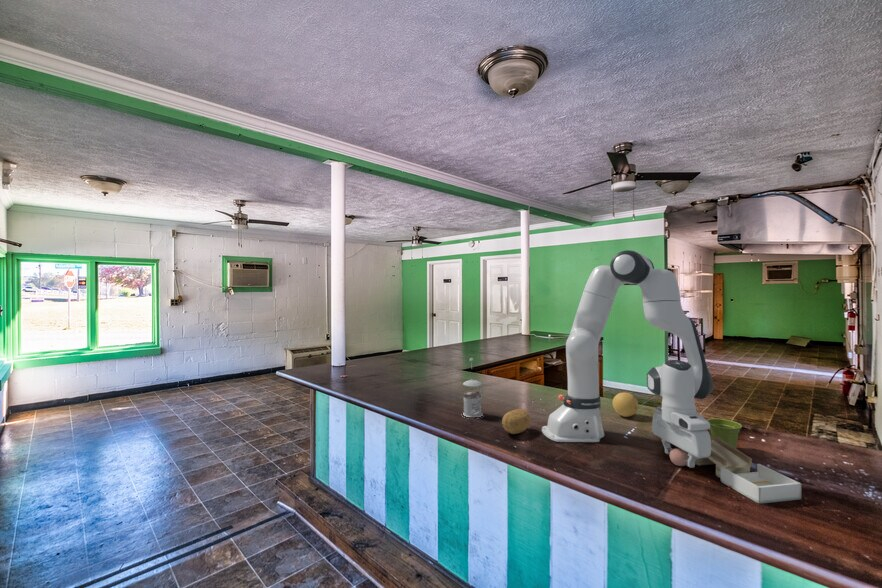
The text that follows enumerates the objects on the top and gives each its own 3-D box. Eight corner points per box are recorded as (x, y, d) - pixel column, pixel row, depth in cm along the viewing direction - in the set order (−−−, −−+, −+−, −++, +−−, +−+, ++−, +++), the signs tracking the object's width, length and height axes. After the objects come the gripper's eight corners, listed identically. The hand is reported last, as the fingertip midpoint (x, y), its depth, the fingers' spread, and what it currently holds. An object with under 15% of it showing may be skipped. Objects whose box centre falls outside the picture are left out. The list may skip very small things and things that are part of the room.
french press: (456, 415, 168) (455, 358, 168) (472, 409, 177) (471, 354, 177) (475, 420, 162) (474, 360, 162) (490, 413, 171) (489, 356, 170)
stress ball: (614, 420, 161) (631, 409, 154) (603, 398, 167) (620, 387, 160) (630, 420, 165) (648, 410, 158) (620, 399, 171) (636, 388, 164)
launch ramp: (724, 480, 108) (724, 454, 108) (690, 460, 120) (689, 437, 120) (752, 477, 109) (752, 451, 109) (716, 458, 121) (715, 435, 121)
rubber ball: (677, 469, 115) (677, 453, 115) (665, 462, 120) (665, 446, 120) (692, 468, 115) (692, 451, 115) (680, 461, 120) (680, 445, 120)
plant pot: (749, 454, 124) (749, 427, 124) (722, 455, 123) (721, 428, 123) (726, 442, 133) (725, 417, 133) (700, 444, 133) (700, 419, 133)
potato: (494, 435, 145) (494, 414, 145) (513, 424, 156) (512, 405, 156) (518, 441, 139) (517, 419, 138) (535, 429, 149) (535, 409, 149)
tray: (758, 503, 96) (758, 487, 96) (720, 481, 107) (720, 467, 107) (801, 499, 98) (801, 483, 98) (759, 477, 109) (759, 463, 109)
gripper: (646, 405, 127) (647, 447, 127) (694, 427, 107) (695, 476, 107) (663, 404, 128) (664, 445, 128) (715, 425, 108) (716, 474, 108)
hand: (679, 460), depth 118 cm, fingers open, 7 cm apart
